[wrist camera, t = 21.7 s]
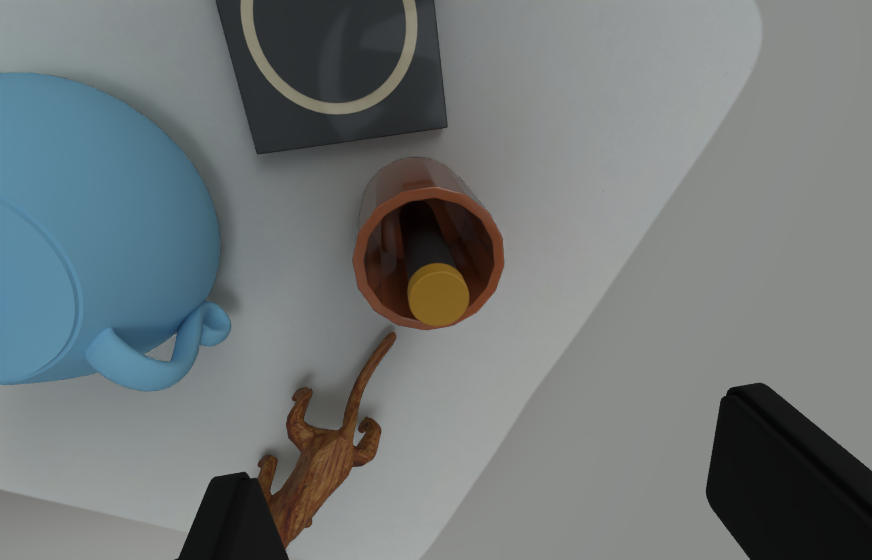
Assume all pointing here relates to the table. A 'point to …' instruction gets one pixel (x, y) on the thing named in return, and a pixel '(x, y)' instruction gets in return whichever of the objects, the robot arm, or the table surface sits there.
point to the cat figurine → (320, 455)
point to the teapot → (99, 240)
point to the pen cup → (459, 222)
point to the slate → (334, 69)
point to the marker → (430, 268)
